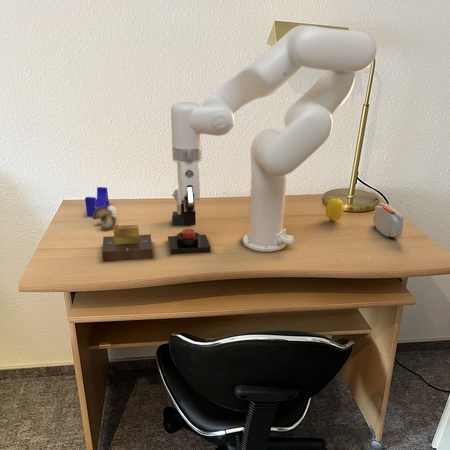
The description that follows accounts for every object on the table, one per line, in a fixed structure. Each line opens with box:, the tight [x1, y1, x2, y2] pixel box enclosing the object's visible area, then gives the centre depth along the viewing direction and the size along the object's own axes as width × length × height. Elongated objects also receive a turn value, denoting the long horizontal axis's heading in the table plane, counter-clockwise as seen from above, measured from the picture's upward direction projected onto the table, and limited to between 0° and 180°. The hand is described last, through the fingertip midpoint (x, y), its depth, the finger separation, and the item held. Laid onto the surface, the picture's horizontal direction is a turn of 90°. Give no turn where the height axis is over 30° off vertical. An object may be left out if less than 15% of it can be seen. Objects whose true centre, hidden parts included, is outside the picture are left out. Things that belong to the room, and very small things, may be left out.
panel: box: [101, 233, 154, 263], centre depth 134 cm, size 13×11×3 cm
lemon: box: [325, 196, 344, 222], centre depth 157 cm, size 6×6×8 cm
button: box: [181, 228, 196, 239], centre depth 137 cm, size 4×4×2 cm
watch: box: [171, 187, 191, 227], centre depth 152 cm, size 6×8×11 cm
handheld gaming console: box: [372, 202, 404, 238], centre depth 149 cm, size 14×3×8 cm, turn 12°
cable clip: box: [84, 186, 110, 218], centre depth 161 cm, size 12×4×6 cm, turn 172°
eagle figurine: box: [92, 204, 117, 232], centre depth 150 cm, size 8×7×9 cm
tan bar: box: [112, 224, 140, 245], centre depth 132 cm, size 6×2×5 cm, turn 99°
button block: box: [167, 231, 211, 256], centre depth 138 cm, size 11×9×4 cm
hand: (188, 220), depth 135 cm, fingers open, 5 cm apart
